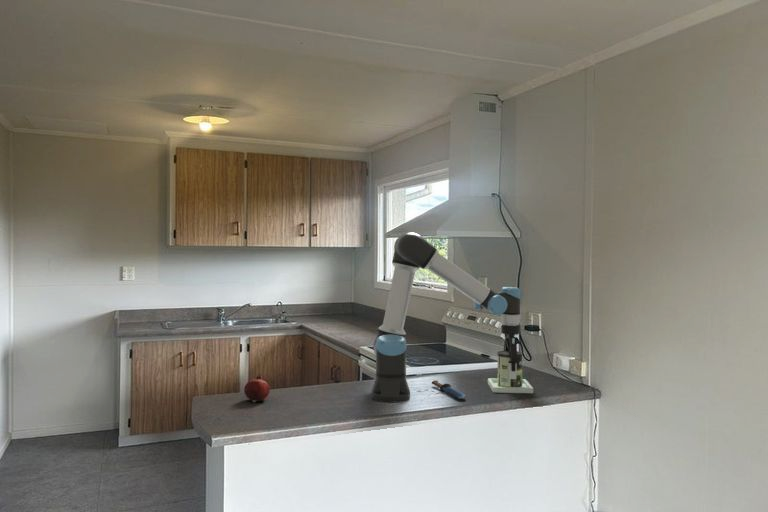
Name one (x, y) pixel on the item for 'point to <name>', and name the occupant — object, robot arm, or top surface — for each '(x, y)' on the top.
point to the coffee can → (504, 370)
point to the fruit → (256, 389)
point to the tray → (524, 389)
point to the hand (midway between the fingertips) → (509, 375)
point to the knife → (449, 389)
